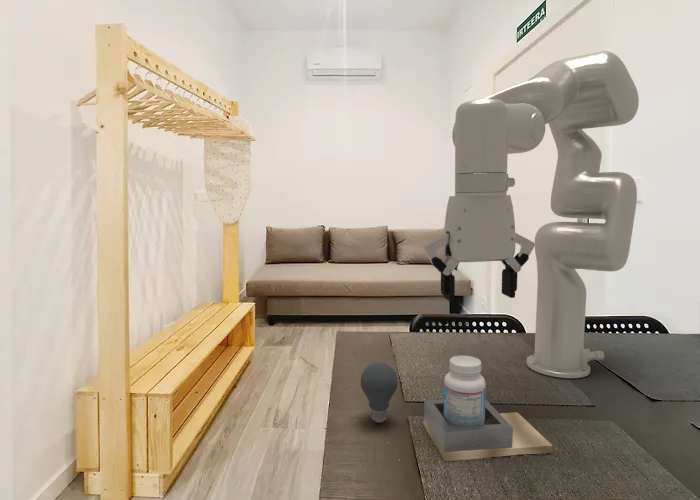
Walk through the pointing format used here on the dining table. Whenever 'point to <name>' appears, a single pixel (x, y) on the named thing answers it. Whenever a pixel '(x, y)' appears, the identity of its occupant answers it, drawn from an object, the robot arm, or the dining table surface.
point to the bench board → (523, 443)
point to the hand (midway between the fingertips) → (478, 297)
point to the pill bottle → (464, 393)
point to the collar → (468, 430)
